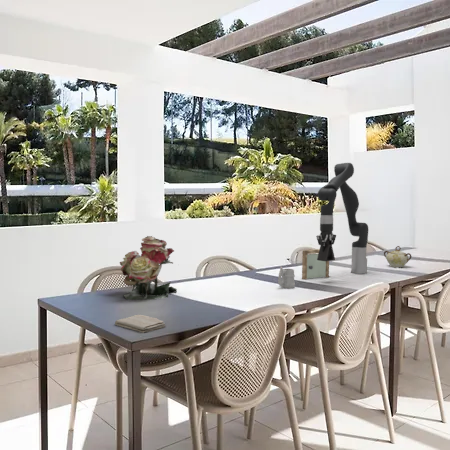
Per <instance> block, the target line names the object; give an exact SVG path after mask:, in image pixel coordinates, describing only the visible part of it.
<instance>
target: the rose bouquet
mask: <svg viewBox="0 0 450 450" xmlns="http://www.w3.org/2000/svg"><path fill="white" fill-rule="evenodd" d="M141 241H142V242H140V246H141V247H140V248H139V250H140V251H141V254H140V253H139V252H138V251H137V250H132V251H130V252H127V253H126V254H125V255H124V257H123V258H122V260H123V261H122V260H121V261H120V262H119V265H120V266H121V268H120V271H121V272H122V276H123V277H124V279H123V284H125V285H126V286H129V287H132V290H131V291H129V292H128V293H125V294H124V295H122V296H123V297H124V298H125V299H126V300H132V301H133V300H137V301H139V300H154V301H155V300H157V299H168V298H169V295H170V294H169V293H170V292H177V291H178V290H177V288H175V287H173V286H170V285H171V283H172V281H169V282H167V283H163V284H161V285H158V276H159V275H160V272H161V270H162V266H163V265H166V264H174V262H173V261H171V260H170V257H171V256H170V255H171V254H173V252H175V250H174V249H173V248H171V247H170V248H166V246H167V242H166V241H165V240H164V239H159V238H156V237H154V236H153V235H146V236H144V237H143V238H142V239H141ZM178 266H179V264H178ZM153 282H154V285H152V283H153Z"/></svg>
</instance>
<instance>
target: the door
mask: <svg viewBox="0 0 450 450" xmlns="http://www.w3.org/2000/svg"><path fill="white" fill-rule="evenodd" d="M318 254H319V253H311V254H307V279H306V280H309V279H316V278H323V277H324V278H327V277H326V261H319V260H317V258H318Z"/></svg>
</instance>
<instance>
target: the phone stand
mask: <svg viewBox="0 0 450 450" xmlns="http://www.w3.org/2000/svg"><path fill="white" fill-rule="evenodd" d="M323 241H324V240H323ZM323 243H324V242H323ZM321 248H322V246H321V245H319V249H320V250H319V253H317V254H318V258H317V260H319V261H329V262H330V261H331V262H332V261H336V257H335V253H334V249H333V244H332V241H331V240H327V242H326V244H325V250H324V252H322V251H321Z"/></svg>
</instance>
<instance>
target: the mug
mask: <svg viewBox="0 0 450 450" xmlns="http://www.w3.org/2000/svg"><path fill="white" fill-rule="evenodd" d="M279 267H280V270H279V273H278V277H277V282H278V285H279V287H281V288H283V289H294V288H295V285H296V283H295V277H296V275H295V269H294V268H283V267H282V266H279Z"/></svg>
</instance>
